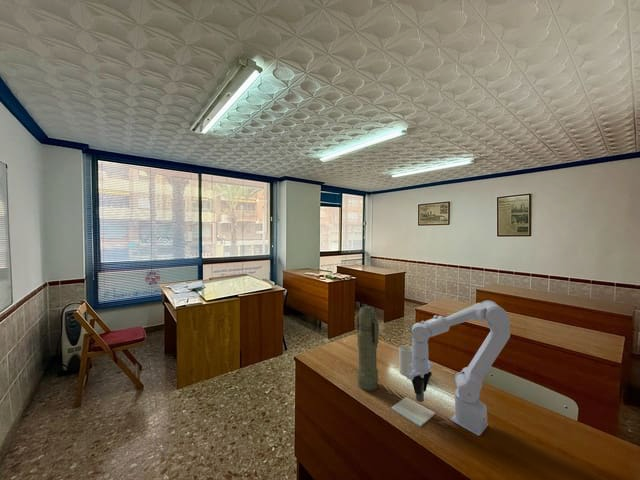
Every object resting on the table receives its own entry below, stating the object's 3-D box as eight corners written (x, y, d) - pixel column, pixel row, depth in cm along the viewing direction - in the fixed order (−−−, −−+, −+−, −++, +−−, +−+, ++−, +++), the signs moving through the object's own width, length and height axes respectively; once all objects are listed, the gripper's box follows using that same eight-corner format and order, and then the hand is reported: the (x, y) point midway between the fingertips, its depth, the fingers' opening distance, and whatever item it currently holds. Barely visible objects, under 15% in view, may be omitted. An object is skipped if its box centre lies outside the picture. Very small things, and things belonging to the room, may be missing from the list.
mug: (408, 378, 117) (408, 352, 117) (396, 372, 123) (396, 347, 123) (420, 371, 124) (419, 346, 124) (407, 365, 129) (407, 342, 129)
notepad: (434, 414, 93) (434, 412, 93) (420, 426, 87) (420, 425, 87) (406, 398, 103) (406, 396, 103) (391, 408, 97) (391, 407, 97)
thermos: (372, 395, 105) (372, 311, 105) (351, 383, 114) (350, 306, 113) (384, 386, 111) (384, 307, 111) (363, 376, 120) (363, 302, 119)
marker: (425, 400, 94) (425, 373, 94) (420, 403, 93) (420, 376, 93) (418, 396, 97) (418, 370, 97) (414, 398, 95) (414, 372, 95)
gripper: (420, 347, 102) (420, 380, 102) (399, 357, 93) (399, 394, 93) (437, 353, 97) (437, 388, 97) (417, 365, 88) (417, 404, 88)
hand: (420, 392), depth 95 cm, fingers closed on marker, 3 cm apart
